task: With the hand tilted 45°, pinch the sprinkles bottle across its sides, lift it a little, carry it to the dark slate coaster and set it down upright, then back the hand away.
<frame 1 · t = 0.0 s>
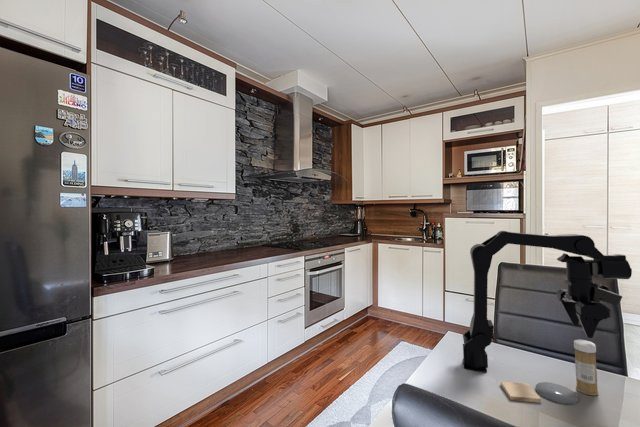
hand: (582, 331, 84), 15 cm above the table, tool pointing down, fingers open, 9 cm apart
tan square cloth: (519, 393, 80), on the table
sprinkles bottle: (586, 392, 80), on the table
coaster: (556, 393, 79), on the table
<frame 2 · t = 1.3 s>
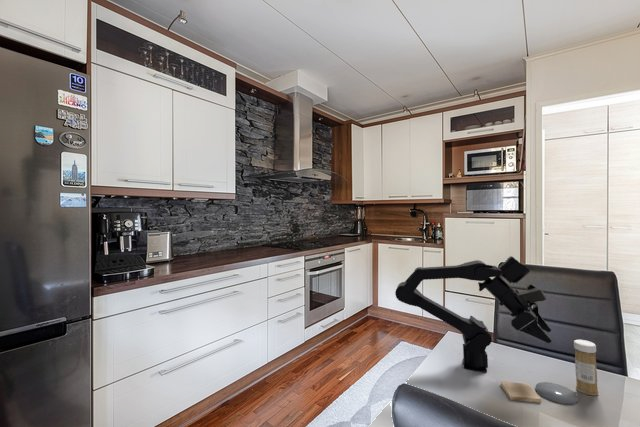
hand: (550, 336, 84), 13 cm above the table, tool tilted 45°, fingers open, 9 cm apart
nothing on the table moved.
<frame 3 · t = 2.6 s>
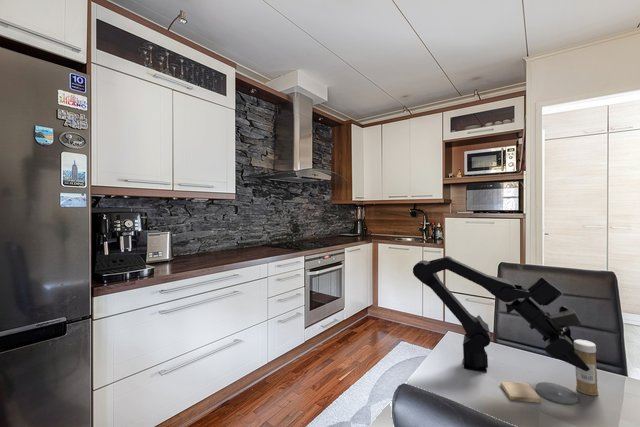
hand: (586, 362, 80), 8 cm above the table, tool tilted 45°, fingers open, 9 cm apart
nothing on the table moved.
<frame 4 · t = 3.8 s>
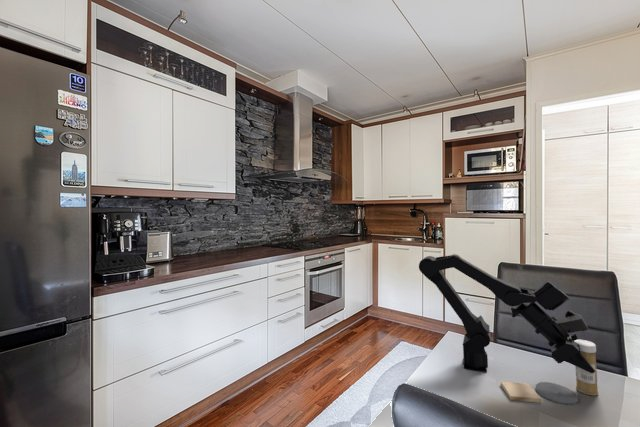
hand: (592, 368, 79), 7 cm above the table, tool tilted 45°, fingers closed on sprinkles bottle, 4 cm apart
sprinkles bottle: (586, 392, 80), on the table, touching gripper
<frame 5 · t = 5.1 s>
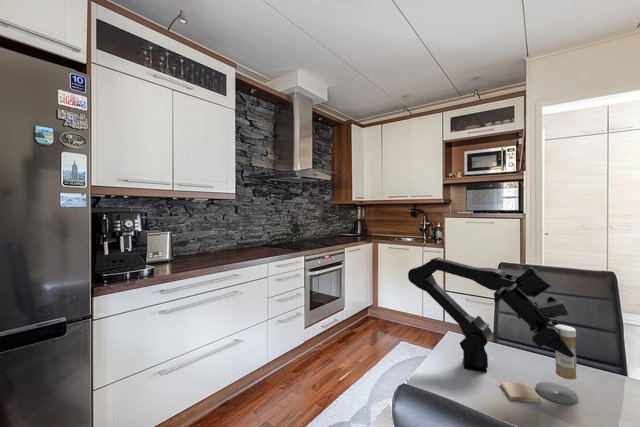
hand: (571, 353, 79), 11 cm above the table, tool tilted 45°, fingers closed on sprinkles bottle, 4 cm apart
sprinkles bottle: (565, 376, 80), point 4 cm above the table, touching gripper
when the fingers open (8 cm above the table, at t = 6.5 s): sprinkles bottle stays where it is, resting on coaster.
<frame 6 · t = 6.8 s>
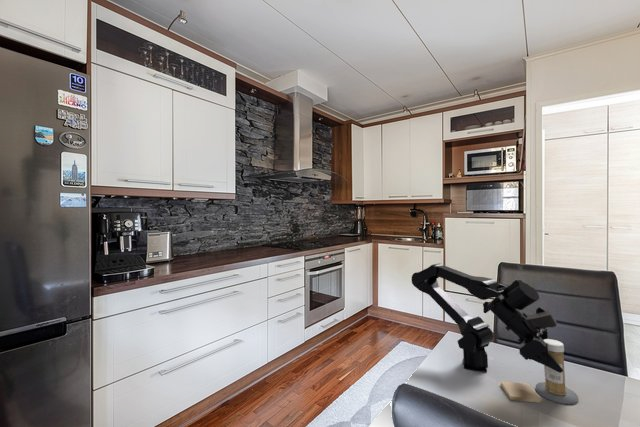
hand: (561, 365, 78), 8 cm above the table, tool tilted 45°, fingers open, 8 cm apart
sprinkles bottle: (555, 392, 79), resting on coaster
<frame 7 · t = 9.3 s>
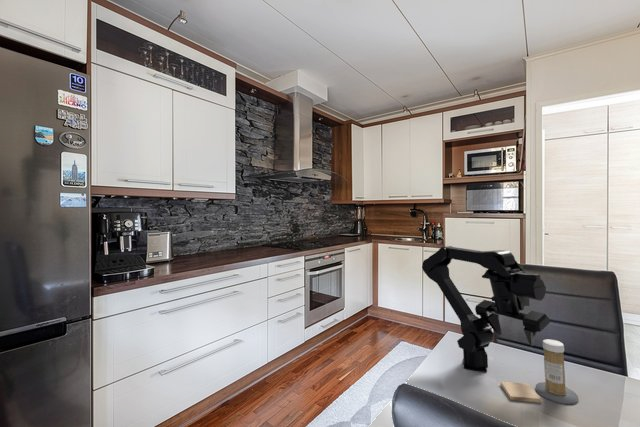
hand: (515, 339, 88), 11 cm above the table, tool tilted 15°, fingers open, 9 cm apart
nothing on the table moved.
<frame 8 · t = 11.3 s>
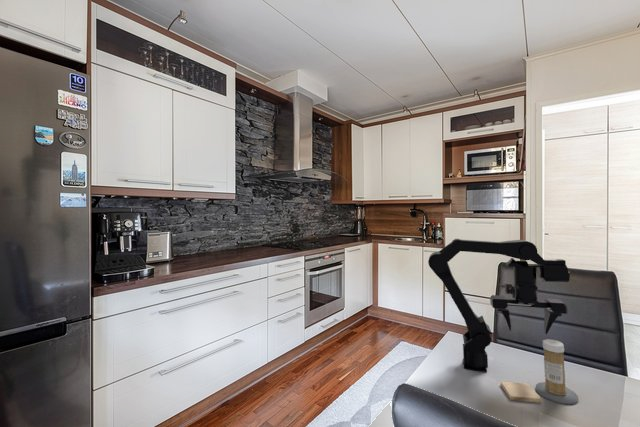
hand: (527, 331, 89), 13 cm above the table, tool pointing down, fingers open, 9 cm apart
nothing on the table moved.
at the end: sprinkles bottle 0.2 cm from the coaster (horizontally); sprinkles bottle tilted 0°; the gripper is holding nothing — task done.
